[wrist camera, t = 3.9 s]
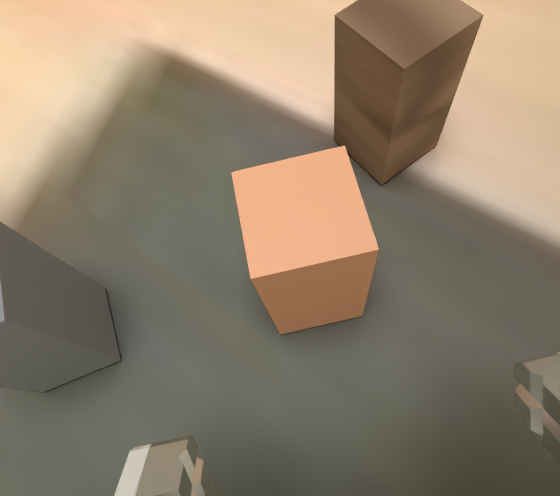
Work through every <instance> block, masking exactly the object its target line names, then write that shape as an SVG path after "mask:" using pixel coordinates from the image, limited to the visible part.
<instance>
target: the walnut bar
mask: <svg viewBox="0 0 560 496" xmlns="http://www.w3.org/2000/svg"><path fill="white" fill-rule="evenodd" d="M482 18H483V14H481V13H479V12H478V11H476V10H475V9H473V8H472V7H470V6H469V5H467V4H465V3H464V2H462V1H461V0H358V1H356V2H354V3H353V4H351V5H350V6H348V7H347V8H345V9H343V10H342V11H340V12H339V13H337V14H336V15H335V110H334V140H335V141H336V142H337V143H338V144H339V145H340V146H345V147H346V150H347V153H349V154H350V155H351V156H352V157H353V158H354V159H355V160H356V161H357V162H358V163H359V164H360V165H361V166H362V167H363V168H364V169H365V170H366V171H367V172H368V173H369V174H370V175H371V176H373V177H374V178H375V179H376V180H377V181H378V182H379V183H380V184H381V185H383V184H384V183H386V182H387V181H388V180H390V179H391V178H392V177H394V176H395V175H396V174H398V173H399V172H401V171H402V170H403V169H405V168H406V167H407V166H409V165H410V164H412V163H413V162H414V161H416V160H417V159H418V158H420V157H421V156H422V155H424V154H425V153H427V152H428V151H429V150H431V149H432V148H433V147H435V146H436V145H437V143H438V140H439V137H440V135H441V132H442V129H443V126H444V124H445V121H446V118H447V115H448V112H449V110H450V107H451V104H452V101H453V99H454V96H455V93H456V90H457V87H458V85H459V82H460V79H461V76H462V73H463V71H464V68H465V65H466V62H467V60H468V57H469V54H470V51H471V48H472V46H473V43H474V40H475V37H476V35H477V32H478V29H479V26H480V23H481V21H482Z"/></svg>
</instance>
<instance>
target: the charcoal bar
mask: <svg viewBox="0 0 560 496" xmlns="http://www.w3.org/2000/svg"><path fill="white" fill-rule="evenodd" d="M118 361H121V359H120V354H119V350H118V345H117V341H116V336H115V331H114V327H113V322H112V318H111V313H110V309H109V304H108V299H107V295H106V290H105V288H104V287H102V286H100V285H99V284H97V283H96V282H94V281H93V280H91V279H89V278H88V277H86V276H85V275H83V274H82V273H80V272H78V271H77V270H75V269H74V268H72V267H71V266H69V265H67V264H66V263H64V262H63V261H61V260H59V259H58V258H56V257H55V256H53V255H52V254H50V253H48V252H47V251H45V250H44V249H42V248H41V247H39V246H37V245H36V244H34V243H33V242H31V241H30V240H28V239H26V238H25V237H23V236H22V235H20V234H19V233H17V232H15V231H14V230H12V229H11V228H9V227H8V226H6V225H4V224H3V223H1V222H0V387H5V388H13V389H20V390H27V391H34V392H41V393H43V392H45V391H48V390H50V389H53V388H55V387H58V386H60V385H62V384H65V383H67V382H70V381H72V380H75V379H77V378H79V377H82V376H84V375H87V374H89V373H92V372H94V371H96V370H99V369H101V368H104V367H106V366H109V365H111V364H113V363H116V362H118Z"/></svg>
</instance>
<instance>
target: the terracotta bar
mask: <svg viewBox="0 0 560 496" xmlns="http://www.w3.org/2000/svg"><path fill="white" fill-rule="evenodd" d="M231 173H232V178H233V184H234V189H235V195H236V200H237V206H238V211H239V217H240V223H241V228H242V234H243V239H244V245H245V250H246V256H247V261H248V267H249V272H250V278H251V280H252V282H253V284H254V286H255V288H256V290H257V292H258V294H259V295H260V297H261V299H262V301H263V303H264V305H265V307H266V308H267V310H268V312H269V314H270V316H271V318H272V320H273V322H274V323H275V325H276V327H277V329H278V331H279V333H280V335H281V334H285V333H289V332H294V331H298V330H303V329H307V328H312V327H316V326H320V325H325V324H329V323H334V322H338V321H343V320H347V319H351V318H356V317H360V316H362V315H363V311H364V307H365V303H366V299H367V295H368V291H369V287H370V283H371V279H372V275H373V271H374V267H375V263H376V259H377V255H378V251H379V248H378V245H377V242H376V239H375V236H374V233H373V230H372V227H371V224H370V221H369V218H368V214H367V211H366V208H365V205H364V202H363V199H362V196H361V193H360V190H359V187H358V184H357V181H356V178H355V175H354V172H353V169H352V166H351V163H350V160H349V157H348V154H347V150H346V147H345V146H341V147H336V148H332V149H328V150H324V151H319V152H315V153H311V154H307V155H302V156H298V157H294V158H290V159H285V160H281V161H277V162H273V163H268V164H264V165H260V166H256V167H252V168H247V169H243V170H239V171H235V172H231Z"/></svg>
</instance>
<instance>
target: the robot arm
mask: <svg viewBox="0 0 560 496" xmlns="http://www.w3.org/2000/svg"><path fill="white" fill-rule="evenodd" d="M514 377H515V378H516V379H517V380H518V381H519V382H520V384H519V385H518V387H517V388H516V390H515V402H516V405H517V408H518V411H519V414H520V415H521V417H522V419H523V421H524V422H525V424H526V425H527V426H528V427H529V429H530V430H531V431H533V432H536V433H538V434H540V435H542V436H543V446H544V447H545V448H546V449H547V450H548V452H549V453H550V454H551V455H552V456H553V458H554V459H555V460H556V461H557V462H558V464H559V465H560V352H559V353H556V354H552V355H547V356H543V357H539V358H534V359H530V360H526V361H522V362H517V363H516V364H515V367H514ZM197 451H198V446H197V443H196V441H195V439H194V437H192V436H187V437H182V438H177V439H172V440H167V441H162V442H157V443H153V444H149V445H144V446H139V447H134V448H133V449H132V450H131V451H130V452H129V454H128V457H127V460H126V463H125V466H124V469H123V472H122V475H121V477H120V480H119V483H118V486H117V489H116V492H115V495H114V496H208V495H209V484H208V475H207V470H206V466H205V464H204V461H203V460H202V459H200V458H199V457H197Z"/></svg>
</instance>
